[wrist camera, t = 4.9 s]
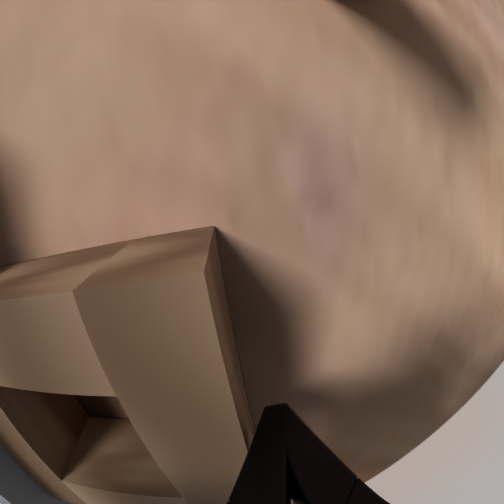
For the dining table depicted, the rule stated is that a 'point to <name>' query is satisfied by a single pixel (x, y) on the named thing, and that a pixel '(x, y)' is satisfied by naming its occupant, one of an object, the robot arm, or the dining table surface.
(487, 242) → the dining table surface
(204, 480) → the block
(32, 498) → the bar
